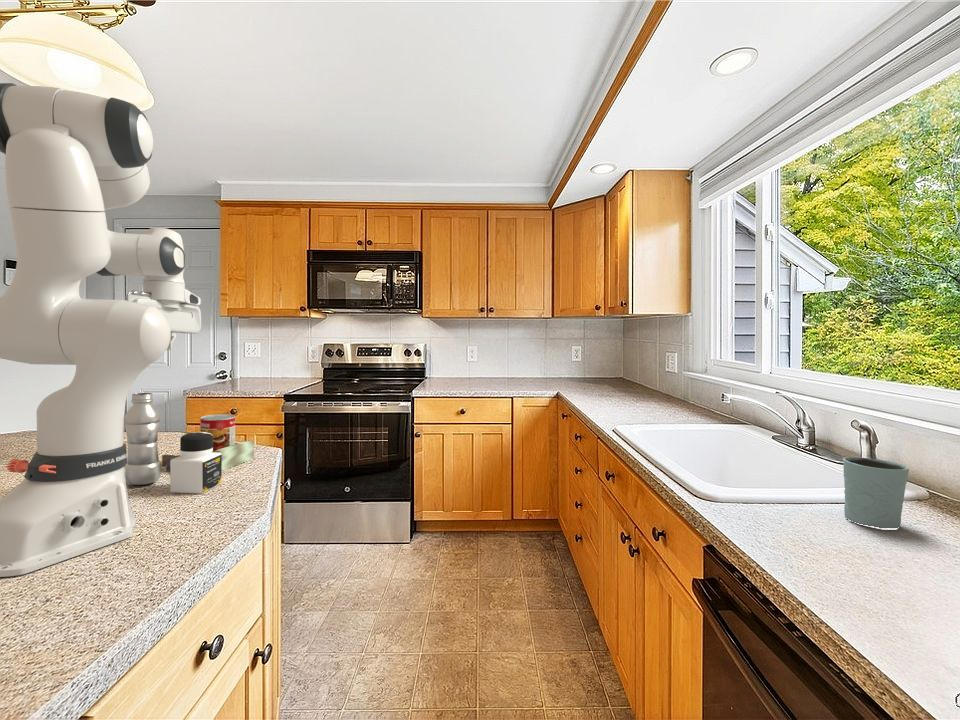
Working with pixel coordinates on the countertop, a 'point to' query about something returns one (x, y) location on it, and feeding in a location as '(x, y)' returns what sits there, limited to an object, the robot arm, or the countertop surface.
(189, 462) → the medicine bottle
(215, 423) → the canned food
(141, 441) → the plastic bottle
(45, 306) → the robot arm
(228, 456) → the trap lane
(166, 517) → the countertop surface
